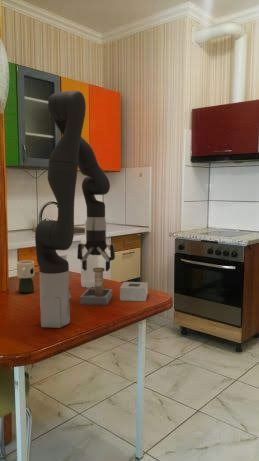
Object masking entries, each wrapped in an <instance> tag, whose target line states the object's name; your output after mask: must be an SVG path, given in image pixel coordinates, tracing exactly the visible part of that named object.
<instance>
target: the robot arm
mask: <svg viewBox="0 0 259 461" xmlns="http://www.w3.org/2000/svg"><path fill="white" fill-rule="evenodd" d="M47 106H48V112H49V114H50V116H51V118H52V120H53V122H54V123H55V125H56V126H57V129H58V130H59V132H60V134H61V135H62V136H61V137H60V139H59V141H58V142H57V143H56V145H55V147H54V149H53V150H52V152H51V154H50V156H49V160H48V166H47V181H48V184H49V187H50V190H51V191H52V194H53V196H54V198H55V200H56V203H57V220H50V219H48V220H46V219H45V220H41V221H40V222H39V223H38V224H37V225H36V228H35V233H34V242H35V243H34V244H35V253H36V262H37V265H38V268H39V273H38V274H39V303H40V305H39V306H40V309H39V310H40V325H41V326H40V327H41V328H56V329H60V328H62V327H64V326H67V325H68V324H70V323H71V322H70V321H71V319H70V318H71V313H70V312H71V310H70V309H71V308H70V307H71V306H70V300H69V293H70V269H69V268H70V266H69V261H68V260H67V259H66V260H65V259H63V258H61V257H60V256H59V255H58V254H57V251H68V250H69V249H70V248H71V246H72V244H73V240H74V234H75V232H74V231H75V198H76V186H77V179H78V169H79V172H80V174H82V175H83V176H86V177H84V178H83V180H82V181H81V190H82V194H83V197H84V201H85V204H86V205H85V206H86V219H87V220H86V244H82V243H81V242H80V243H78V244H77V257H76V258H77V259H78V260H80V261H81V260H82V268H83V269H84V271H86V270H87V260H86V259H87V258H88V256H89V255H90V254H91V255H98V256H102V257H103V259H104V260H105V272H108V271H109V270H110V269H111V262H112V261H114V260H115V258H116V252H115V244H114V243H110V244H108V243H107V221H106V204H105V202H104V201H101V200H98V199H96V196H97V195H99V196H101V195H107V194H108V193H109V191H110V188H111V184H110V180H109V177H108V176H107V174H106V173H105V172H104V170H103V169H102V167H101V166H100V165H99V164H98V160H97V158H96V154H95V152H94V150H93V148H92V146H91V145H90V143H89V142H87V140H86V139H84V137H82V132H83V127H84V122H85V116H86V112H87V111H86V109H87V105H86V99H85V96H84V94H83V93H82V92H81V91H80V90H68V91H61V92H54V93H52V94H51V95H50V96H49V98H48V102H47ZM84 247H85V248H86V249H87V250H88V251H87V253H86V254H85V255H84V257H83V256H82V249H84ZM107 248H108V250H109V254H110V256H109V255H108V253H107V252H106V249H107Z"/></svg>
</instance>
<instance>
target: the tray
mask: <svg viewBox="0 0 259 461" xmlns="http://www.w3.org/2000/svg"><path fill="white" fill-rule="evenodd" d="M112 298H113V289H112V288H110V289H109V288H105V289H104V288H103V297H95V288H86V290H85V291H84V292H83V293H82V294H81V295H80V299H79V301H80V303H79V304H80V305H81V306H82V305H83V306H84V305H85V306H107V305H108V304H109V303H110V301H111V299H112Z"/></svg>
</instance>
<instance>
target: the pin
mask: <svg viewBox="0 0 259 461" xmlns="http://www.w3.org/2000/svg"><path fill="white" fill-rule="evenodd" d="M93 271H94V272H95V287H94V289H95V297H103V289H104V272H106V268H104V267H98V268H93Z"/></svg>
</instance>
